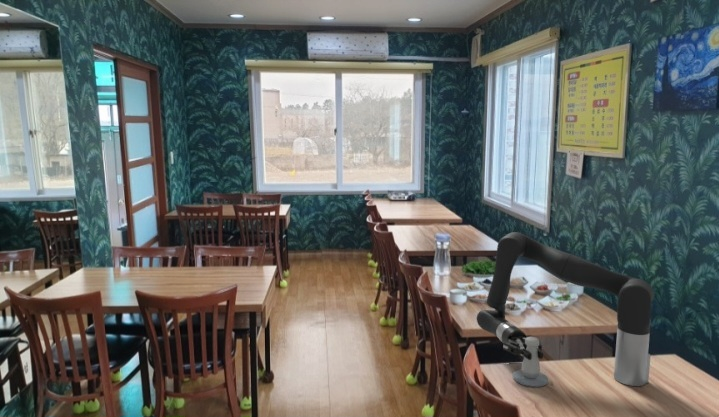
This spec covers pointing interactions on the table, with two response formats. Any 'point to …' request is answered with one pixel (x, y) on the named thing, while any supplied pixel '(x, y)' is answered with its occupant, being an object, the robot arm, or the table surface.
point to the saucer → (530, 379)
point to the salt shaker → (531, 366)
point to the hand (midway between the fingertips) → (536, 356)
